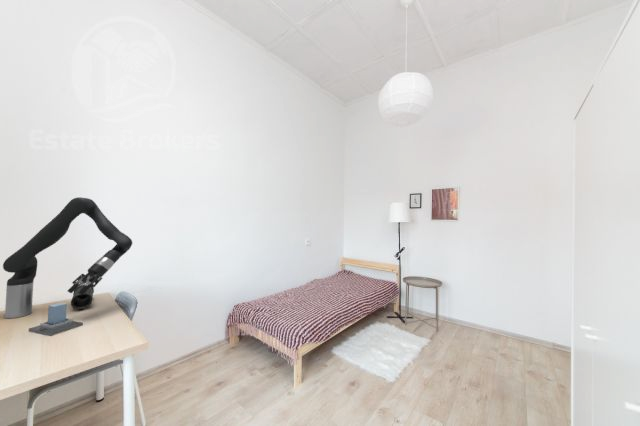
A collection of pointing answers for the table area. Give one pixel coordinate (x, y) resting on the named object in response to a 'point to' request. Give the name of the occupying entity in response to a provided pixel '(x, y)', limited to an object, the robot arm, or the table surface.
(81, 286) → the muzzle brake
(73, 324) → the grey metal socket plate
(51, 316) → the peg
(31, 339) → the table surface
